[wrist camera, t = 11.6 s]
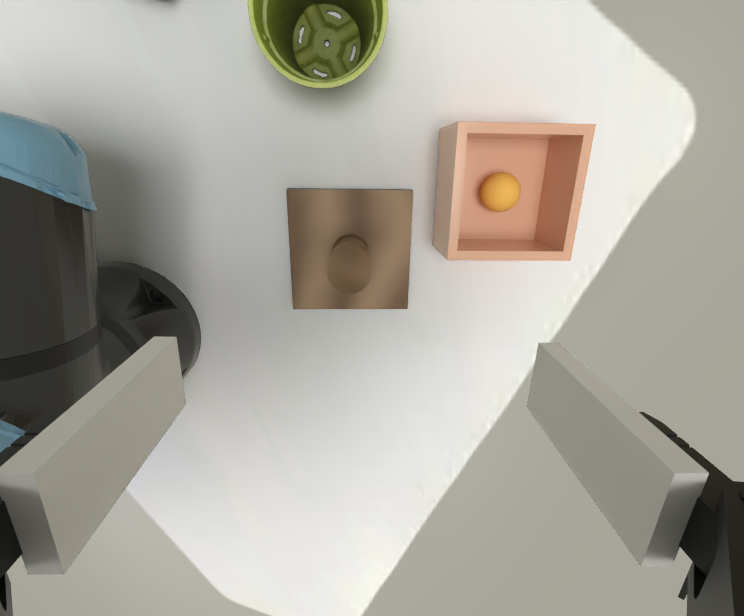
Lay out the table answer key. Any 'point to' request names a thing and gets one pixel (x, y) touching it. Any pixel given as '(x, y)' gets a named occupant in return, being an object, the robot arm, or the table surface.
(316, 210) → the lid
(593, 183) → the table surface
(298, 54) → the plant pot
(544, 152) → the pink open box
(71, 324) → the robot arm
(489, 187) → the clementine
